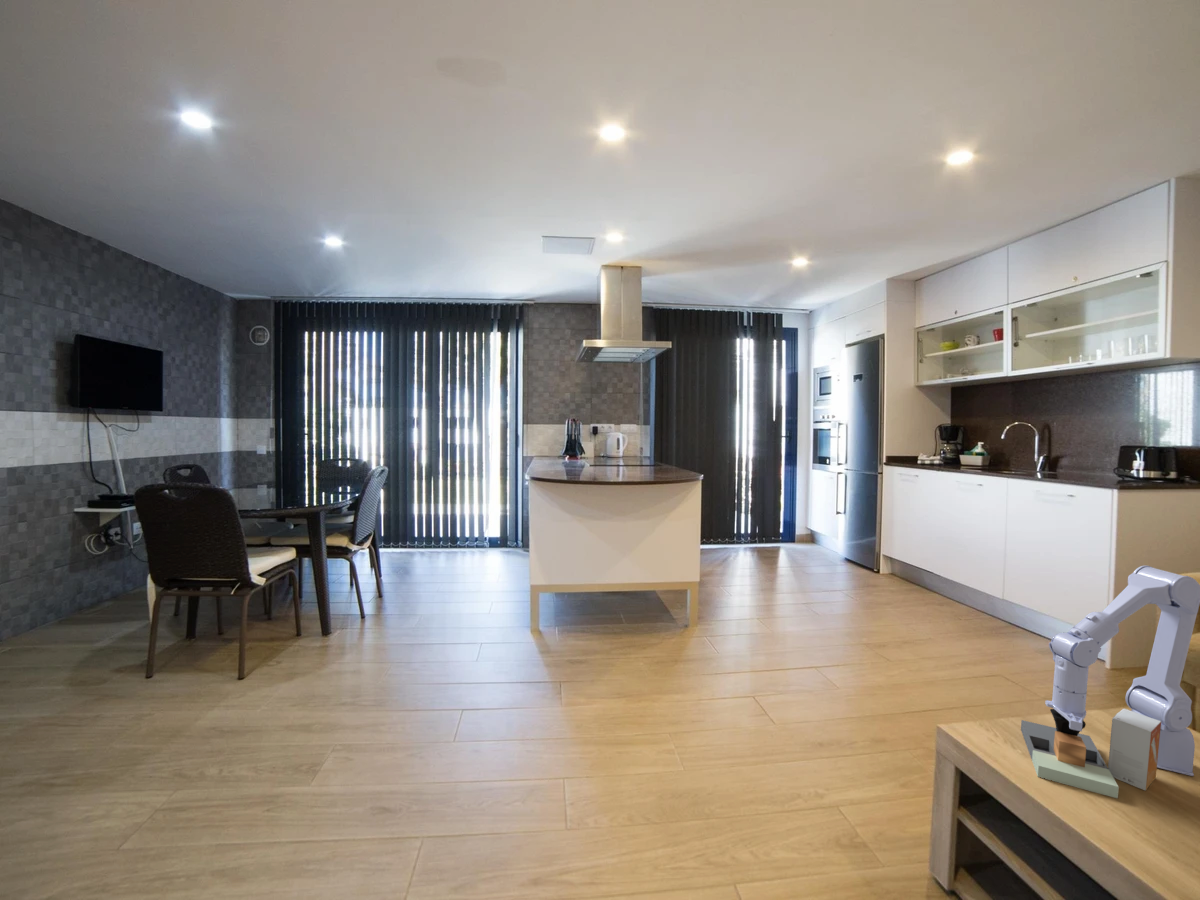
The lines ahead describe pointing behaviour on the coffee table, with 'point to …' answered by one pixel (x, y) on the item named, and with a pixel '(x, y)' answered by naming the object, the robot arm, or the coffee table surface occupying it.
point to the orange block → (1069, 749)
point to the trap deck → (1050, 768)
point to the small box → (1134, 748)
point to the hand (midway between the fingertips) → (1065, 745)
